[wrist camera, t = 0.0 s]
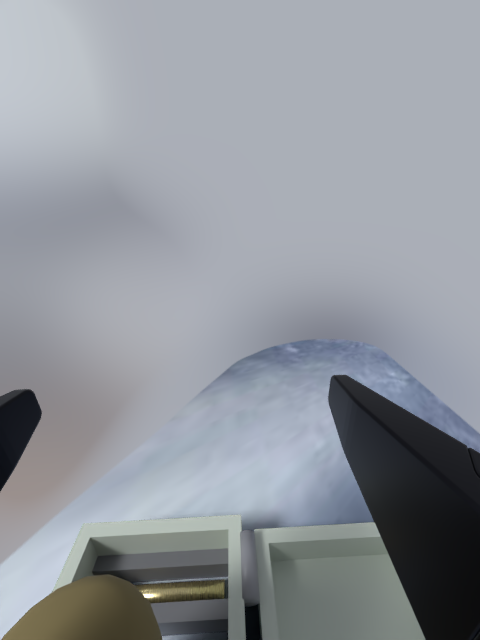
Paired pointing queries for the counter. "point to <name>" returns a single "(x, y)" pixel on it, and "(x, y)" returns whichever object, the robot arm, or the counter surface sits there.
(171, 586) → the rod
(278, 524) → the counter surface
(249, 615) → the counter surface
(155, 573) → the case
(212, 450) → the counter surface
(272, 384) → the counter surface
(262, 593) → the lid
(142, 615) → the cork
